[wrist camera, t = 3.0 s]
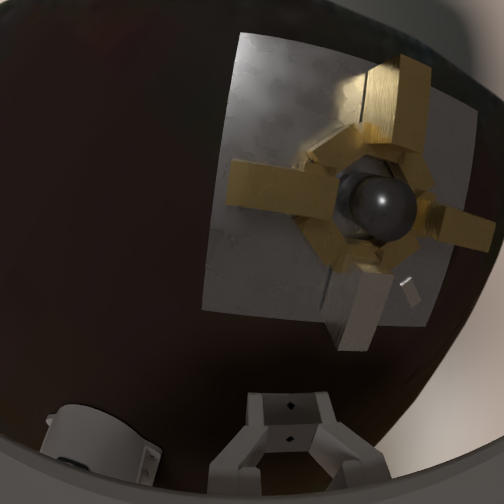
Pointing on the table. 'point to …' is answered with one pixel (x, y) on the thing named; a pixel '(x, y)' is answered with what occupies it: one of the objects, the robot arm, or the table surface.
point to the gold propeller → (326, 187)
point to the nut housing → (349, 190)
